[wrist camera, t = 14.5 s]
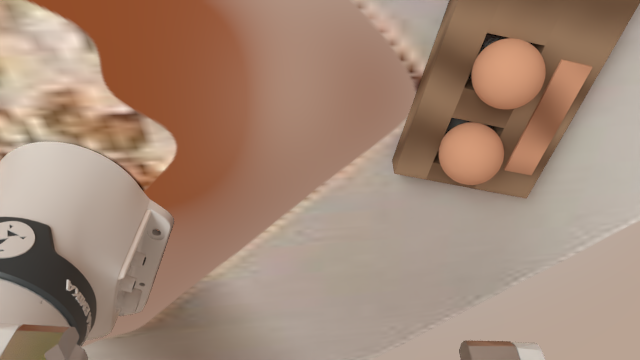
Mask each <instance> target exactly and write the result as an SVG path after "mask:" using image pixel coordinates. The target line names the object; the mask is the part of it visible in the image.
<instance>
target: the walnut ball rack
mask: <svg viewBox="0 0 640 360" xmlns="http://www.w3.org/2000/svg"><path fill="white" fill-rule="evenodd" d="M639 3H640V0H450V1H449V3H448V6H447V9H446V12H445V15H444V17H443V20H442V23H441V26H440V29H439V31H438V34H437V37H436V40H435V42H434V45H433V48H432V51H431V54H430V56H429V59H428V62H427V65H426V68H425V70H424V73H423V76H422V79H421V81H420V84H419V87H418V90H417V93H416V95H415V98H414V101H413V104H412V107H411V109H410V112H409V115H408V118H407V120H406V123H405V126H404V129H403V132H402V134H401V137H400V140H399V143H398V146H397V148H396V151H395V154H394V157H393V159H392V162H393V168H394V174H400V175H405V176H410V177H416V178H421V179H426V180H432V181H437V182H442V183H447V184H453V185H458V186H463V187H469V188H474V189H479V190H485V191H490V192H495V193H501V194H506V195H511V196H517V197H522V198H527V197H528V195H529V193H530V191H531V190H532V188H533V186H534V185H535V183H536V181H537V179H538V178H539V176H540V174H541V172H542V171H543V169H544V167H545V166H546V164H547V162H548V160H549V159H550V157H551V155H552V153H553V152H554V150H555V148H556V147H557V145H558V143H559V141H560V140H561V138H562V136H563V134H564V133H565V131H566V129H567V127H568V126H569V124H570V122H571V121H572V119H573V117H574V115H575V114H576V112H577V110H578V108H579V107H580V105H581V103H582V102H583V100H584V98H585V96H586V95H587V93H588V91H589V89H590V88H591V86H592V84H593V83H594V81H595V79H596V77H597V76H598V74H599V72H600V70H601V69H602V67H603V65H604V64H605V62H606V60H607V58H608V57H609V55H610V53H611V51H612V50H613V48H614V46H615V45H616V43H617V41H618V39H619V38H620V36H621V34H622V32H623V31H624V29H625V27H626V26H627V24H628V22H629V20H630V19H631V17H632V15H633V13H634V12H635V10H636V8H637V7H638V5H639ZM487 33H490V34H494V35H499V36H503V37H508V38H515V39H521V40H524V41H526V42H530V43H532V45H533V46H534V47H535V48H536V49H537V50H538V51H539V52H540V54H541V55H542V57H543V60H544V63H545V68H546V75H545V80H544V83H543V86H542V88H541V90H540V91H539V93H538V94H537V95H536V96H535V98H534V99H532V100H531V101H530V102H529V103H527V104H525V105H523V106H521V107H518V108H515V109H497V108H494V107H492V106H489V105H488V104H486V103H485V102H483V101H482V100H481V99H480V98H479V97H478V95H477V94H476V92H475V90H474V88H473V85H472V79H468V77H469V75H470V72H471V70H472V68H473V65H474V62H475V60H476V58H477V56H478V53H479V51H480V48H481V46H482V44H483V41H484V39H485V37H486V34H487ZM451 118H456V119H461V120H466V121H471V122H476V123H481V124H486V125H491V126H493V127H492V129H493V130H494V131H495V132H496V133H497V134H498V136H499V137H500V139H501V141H502V144H503V148H504V159H503V163H502V165H501V167H500V169H499V171H498V172H497V173H496V174H495V175H494V176H493V177H492V178H491V179H490V180H488V181H486V182H484V183H481V184H477V185H465V184H460V183H458V182H456V181H454V180H452V179H451V178H450V177H449V176H448V175H447V174H446V173H445V172H444V170H443V169H442V167H441V165H440V161H439V151H438V149H439V147H440V144H441V141H442V139H443V137H444V135H445V132H446V130H447V128H448V125H449V123H450V120H451Z"/></svg>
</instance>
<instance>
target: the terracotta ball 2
mask: <svg viewBox="0 0 640 360" xmlns="http://www.w3.org/2000/svg"><path fill="white" fill-rule="evenodd" d="M545 75H546V68H545V63H544V60H543V57H542V55H541V54H540V52H539V51H538V50H537V49H536V48H535V47H534V46H533V45H532V44H530V43H528V42H526V41H524V40H521V39H515V38H507V39H502V40H498V41H495V42H493V43H491V44H490V45H488V46H487V47H486V48H484V49H483V50H482V51H481V53H480V54H479V55H478V57H477V58H476V60H475V62H474V65H473V68H472V75H471V77H472V85H473V88H474V90H475V92H476V94H477V95H478V97H479V98H480V99H481V100H482V101H483V102H485V103H486V104H488V105H489V106H492V107H494V108H497V109H515V108H518V107H521V106H523V105H525V104H527V103H529V102H530V101H531V100H532V99H534V98H535V96H536V95H537V94H538V93H539V91H540V90H541V88H542V86H543V83H544V80H545Z"/></svg>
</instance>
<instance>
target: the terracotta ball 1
mask: <svg viewBox="0 0 640 360" xmlns="http://www.w3.org/2000/svg"><path fill="white" fill-rule="evenodd" d="M503 159H504V148H503V144H502V141H501V139H500V137H499V136H498V134H497V133H496V132H495V131H494V130H493V129H491V128H490V127H488V126H486V125H484V124H481V123H476V122H467V123H463V124H460V125H457V126H455V127H454V128H452V129H451V130H450V131H448V132H447V134H446V135H445V136H444V138H443V139H442V141H441V144H440V147H439V161H440V165H441V167H442V169H443V170H444V172H445V173H446V174H447V175H448V176H449V177H450V178H451V179H452V180H454V181H456V182H458V183H460V184H465V185H477V184H481V183H484V182H486V181H488V180H490V179H491V178H492V177H493V176H494V175H495V174H496V173H497V172H498V171H499V169H500V167H501V165H502V163H503Z"/></svg>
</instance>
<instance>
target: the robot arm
mask: <svg viewBox="0 0 640 360" xmlns="http://www.w3.org/2000/svg"><path fill="white" fill-rule="evenodd" d="M173 224H174V218H173V217H172V215H171V214H170V213H169V212H168V211H166V210H165V209H164V208H162V207H161V206H159V205H158V204H156V203H155V202H153V201H152V200H150V199H149V198H148V197H147V195H146V194H145V193H144V192H143V190H142V189H141V188H140V186H139V185H138V184H137V183H136V181H135V180H134V179H133V178H132V177H131V176H130V175H129V174H128V173H127V172H126V171H125V170H124V169H122V168H121V167H120V166H118V165H117V164H116V163H114V162H113V161H111V160H110V159H108V158H106V157H104V156H103V155H101V154H99V153H96V152H94V151H92V150H89V149H87V148H84V147H81V146H77V145H73V144H68V143H62V142H36V143H30V144H26V145H23V146H20V147H18V148H16V149H14V150H12V151H11V152H9V153H8V154H7V155H6V156H4V158H3V159H2V160H1V161H0V360H88V357H87V354H86V352H85V350H84V349H83V348H81V346H82V345H83V343H84V342H85V340H92V339H97V338H101V337H104V336H106V335H108V334H109V333H110V332H111V331H112V329H113V327H114V325H115V323H116V320H117V318H118V316H124V315H131V314H136V313H139V312H141V311H142V310H143V309H144V307H145V305H146V303H147V300H148V297H149V294H150V292H151V289H152V286H153V283H154V280H155V277H156V274H157V271H158V268H159V265H160V262H161V260H162V257H163V254H164V251H165V248H166V245H167V242H168V239H169V236H170V233H171V230H172V227H173ZM156 229H158V230H159V231H157V230H156ZM459 353H460V358H461V360H545V358H544V355H543V352H542V350H541V348H540V347H539V345H538V344H536V343H511V342H507V341H506V342H505V341H463V342H462V343H461V346H460V349H459Z"/></svg>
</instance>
